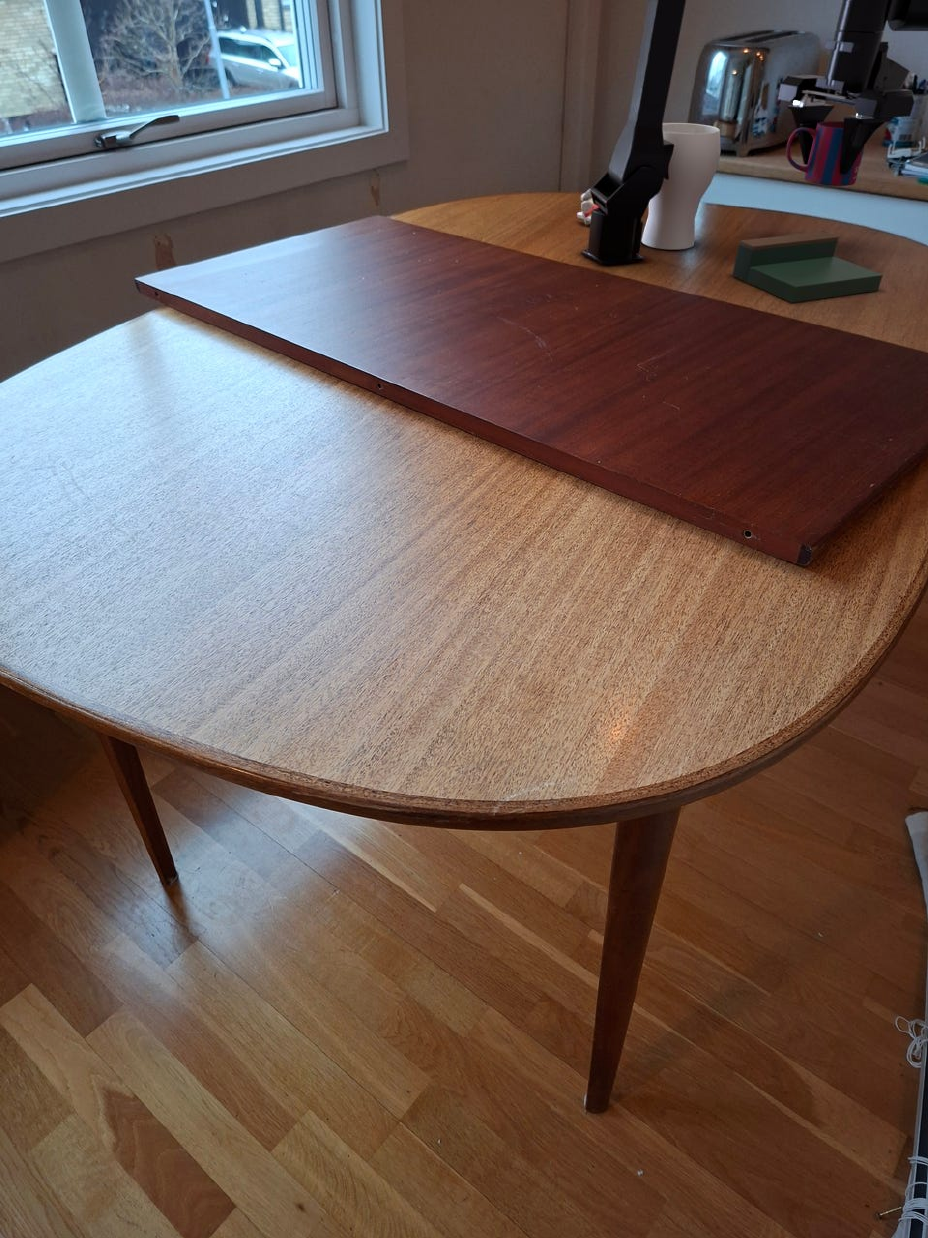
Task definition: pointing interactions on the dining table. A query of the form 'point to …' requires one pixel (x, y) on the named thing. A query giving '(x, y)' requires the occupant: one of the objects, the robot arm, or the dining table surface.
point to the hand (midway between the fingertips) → (825, 168)
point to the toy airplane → (586, 207)
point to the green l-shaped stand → (801, 267)
